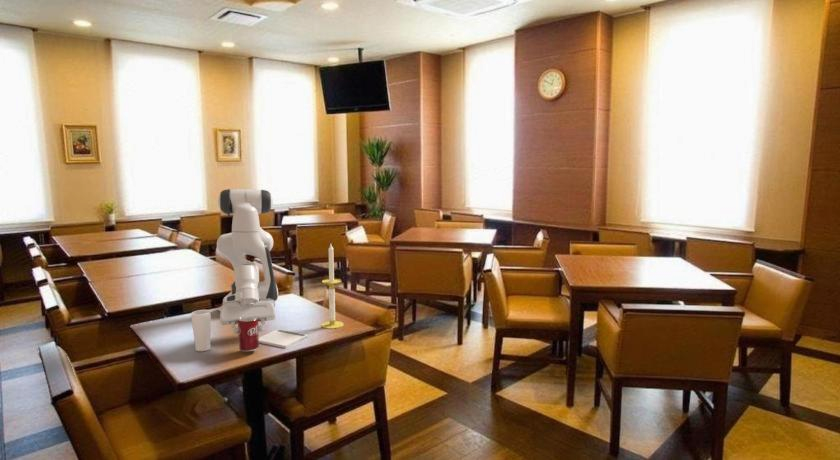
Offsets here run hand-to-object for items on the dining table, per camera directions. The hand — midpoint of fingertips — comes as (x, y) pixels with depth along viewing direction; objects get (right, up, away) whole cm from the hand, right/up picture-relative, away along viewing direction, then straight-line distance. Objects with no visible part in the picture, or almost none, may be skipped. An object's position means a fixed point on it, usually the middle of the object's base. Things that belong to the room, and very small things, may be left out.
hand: (248, 332), depth 185 cm
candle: (+26, -4, +33) cm, 42 cm away
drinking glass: (-19, -8, +4) cm, 21 cm away
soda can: (0, -7, +2) cm, 7 cm away
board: (+8, -6, +15) cm, 18 cm away
